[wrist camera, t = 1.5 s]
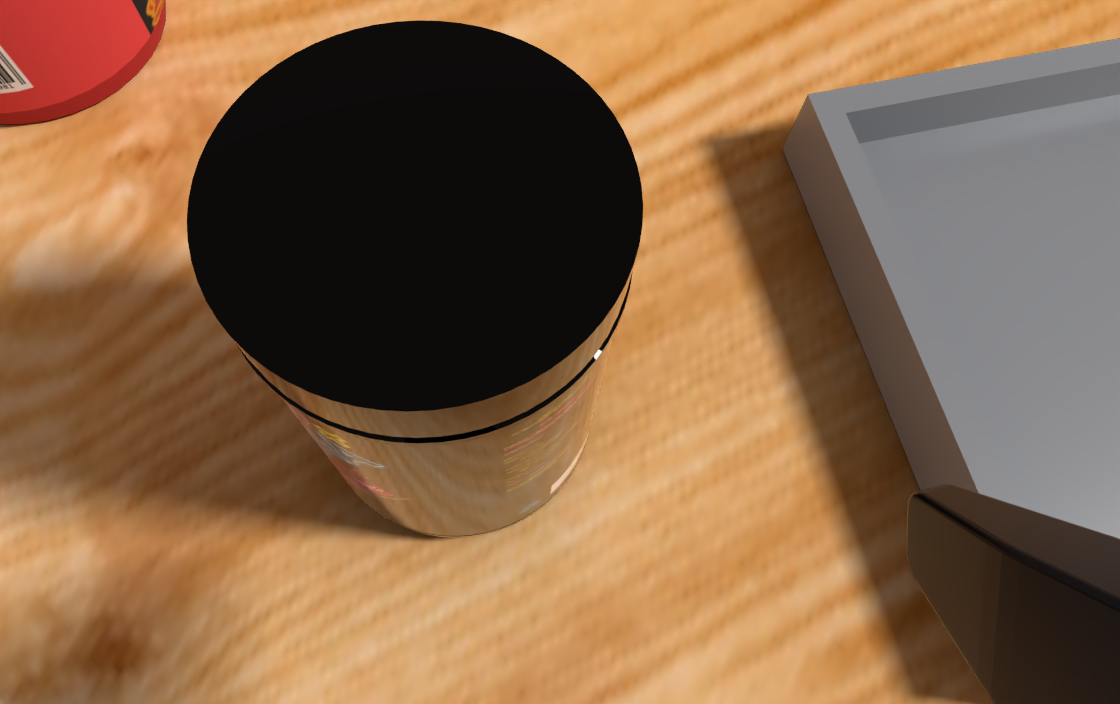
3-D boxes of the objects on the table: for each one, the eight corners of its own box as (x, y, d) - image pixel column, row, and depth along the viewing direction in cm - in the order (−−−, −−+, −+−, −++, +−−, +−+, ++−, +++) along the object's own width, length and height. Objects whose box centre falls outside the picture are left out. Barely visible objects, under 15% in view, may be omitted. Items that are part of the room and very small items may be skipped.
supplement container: (391, 264, 24) (306, -29, 14) (623, 340, 23) (696, 88, 14) (285, 492, 22) (95, 322, 12) (542, 583, 21) (562, 481, 11)
